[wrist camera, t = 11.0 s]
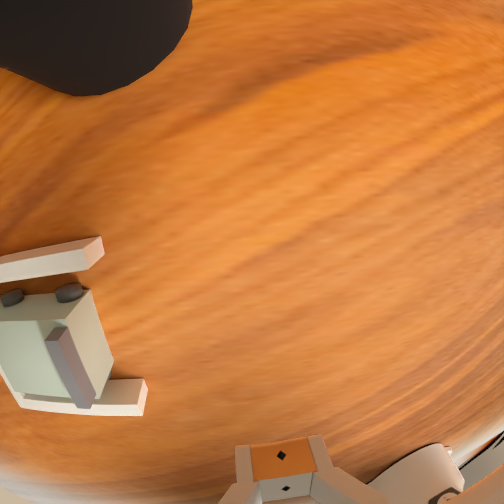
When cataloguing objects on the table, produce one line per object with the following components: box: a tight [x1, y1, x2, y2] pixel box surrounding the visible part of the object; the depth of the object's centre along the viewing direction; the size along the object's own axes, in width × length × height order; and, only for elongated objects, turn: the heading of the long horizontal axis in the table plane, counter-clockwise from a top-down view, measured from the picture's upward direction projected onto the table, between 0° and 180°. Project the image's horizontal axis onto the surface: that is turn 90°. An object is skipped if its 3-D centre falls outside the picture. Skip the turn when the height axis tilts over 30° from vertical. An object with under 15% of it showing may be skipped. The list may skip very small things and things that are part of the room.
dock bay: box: [0, 236, 148, 416], centre depth 17 cm, size 12×12×3 cm
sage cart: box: [0, 283, 114, 409], centre depth 16 cm, size 7×8×6 cm
